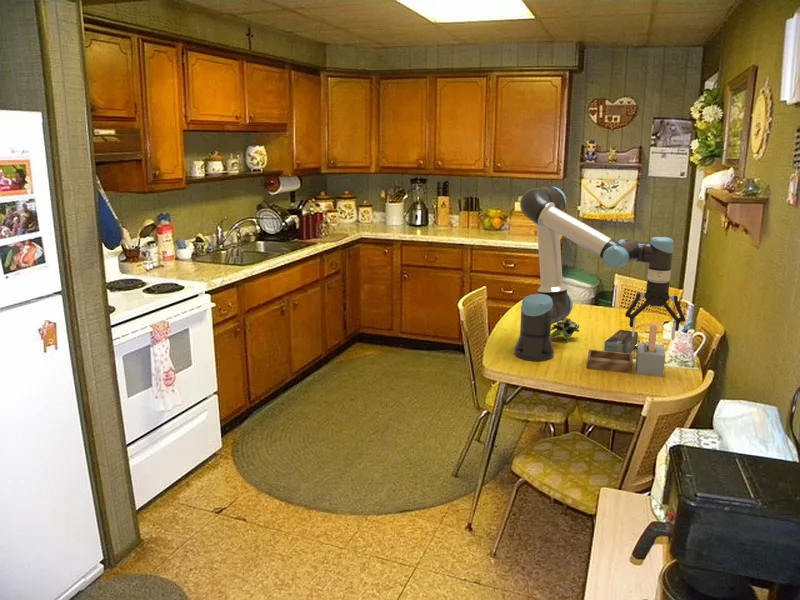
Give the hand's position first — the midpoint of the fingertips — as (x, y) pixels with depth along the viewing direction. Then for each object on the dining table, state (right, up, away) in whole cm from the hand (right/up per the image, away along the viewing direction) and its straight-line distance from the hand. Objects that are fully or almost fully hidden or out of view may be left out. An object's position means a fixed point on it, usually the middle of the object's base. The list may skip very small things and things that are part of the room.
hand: (652, 337), depth 236 cm
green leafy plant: (-23, -4, +37) cm, 44 cm away
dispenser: (0, -12, +3) cm, 13 cm away
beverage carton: (-3, -7, +25) cm, 26 cm away
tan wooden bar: (0, -10, +3) cm, 11 cm away
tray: (-13, -11, +7) cm, 19 cm away
